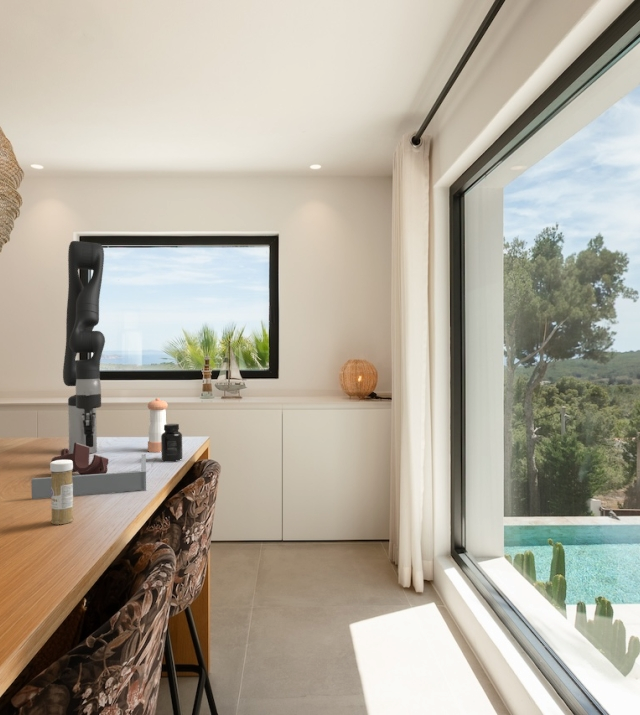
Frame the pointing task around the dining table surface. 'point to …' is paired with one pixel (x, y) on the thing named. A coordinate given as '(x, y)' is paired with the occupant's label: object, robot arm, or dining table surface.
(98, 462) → the bracket
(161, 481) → the dining table surface
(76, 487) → the angled bar
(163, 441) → the supplement bottle
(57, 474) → the sprinkles bottle
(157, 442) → the pepper shaker
